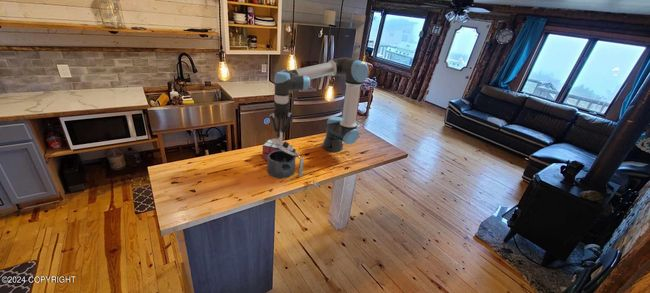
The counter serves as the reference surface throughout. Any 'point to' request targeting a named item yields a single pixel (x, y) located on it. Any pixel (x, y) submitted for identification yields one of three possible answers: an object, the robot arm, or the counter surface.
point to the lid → (285, 147)
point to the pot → (282, 164)
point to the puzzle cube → (268, 149)
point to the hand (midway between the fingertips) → (280, 142)
